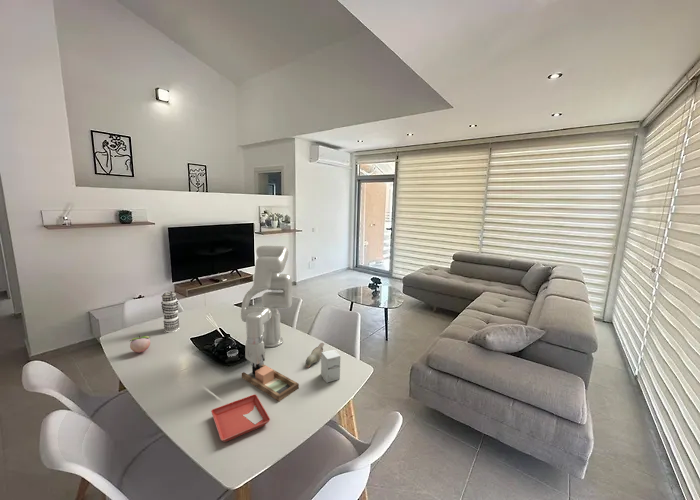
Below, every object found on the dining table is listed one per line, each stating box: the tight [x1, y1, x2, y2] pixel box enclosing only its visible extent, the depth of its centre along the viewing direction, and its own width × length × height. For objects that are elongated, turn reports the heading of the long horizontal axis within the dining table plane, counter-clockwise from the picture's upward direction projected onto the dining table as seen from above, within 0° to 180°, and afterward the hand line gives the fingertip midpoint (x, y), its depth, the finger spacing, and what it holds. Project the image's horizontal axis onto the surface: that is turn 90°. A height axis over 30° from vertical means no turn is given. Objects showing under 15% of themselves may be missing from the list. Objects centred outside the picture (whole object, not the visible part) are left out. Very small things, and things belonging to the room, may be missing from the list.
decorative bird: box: [305, 342, 325, 369], centre depth 159 cm, size 5×16×8 cm, turn 155°
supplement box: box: [320, 349, 341, 384], centre depth 145 cm, size 7×7×13 cm
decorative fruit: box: [129, 335, 151, 353], centre depth 163 cm, size 9×8×10 cm
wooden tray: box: [241, 364, 300, 402], centre depth 139 cm, size 27×11×3 cm, turn 54°
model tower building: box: [160, 291, 180, 333], centre depth 190 cm, size 9×9×25 cm
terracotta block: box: [255, 365, 275, 385], centre depth 141 cm, size 6×6×5 cm
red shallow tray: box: [210, 393, 271, 443], centre depth 116 cm, size 18×18×3 cm
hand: (256, 373), depth 145 cm, fingers closed
